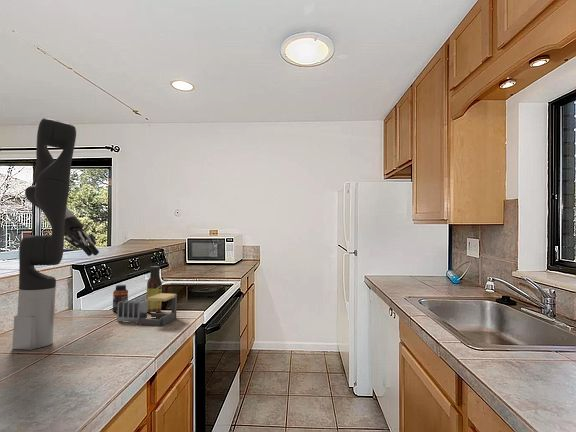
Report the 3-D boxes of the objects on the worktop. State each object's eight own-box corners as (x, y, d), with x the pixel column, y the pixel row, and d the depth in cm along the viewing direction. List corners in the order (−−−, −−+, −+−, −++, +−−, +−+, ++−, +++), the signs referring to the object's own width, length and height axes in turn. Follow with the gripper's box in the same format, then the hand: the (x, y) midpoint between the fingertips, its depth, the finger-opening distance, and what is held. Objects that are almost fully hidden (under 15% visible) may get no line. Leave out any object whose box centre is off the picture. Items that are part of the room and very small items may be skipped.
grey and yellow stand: (163, 325, 130) (164, 298, 130) (137, 324, 131) (138, 297, 131) (176, 318, 141) (177, 293, 141) (152, 317, 142) (153, 292, 142)
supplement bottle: (130, 309, 155) (131, 284, 156) (122, 312, 149) (123, 286, 150) (117, 309, 156) (118, 283, 156) (109, 312, 150) (110, 285, 150)
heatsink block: (138, 323, 133) (139, 303, 134) (116, 322, 134) (117, 302, 135) (146, 319, 139) (147, 300, 140) (125, 318, 140) (126, 299, 141)
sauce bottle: (161, 313, 150) (163, 266, 151) (145, 314, 147) (147, 267, 148) (160, 310, 156) (162, 265, 157) (145, 310, 153) (147, 265, 154)
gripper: (59, 214, 130) (88, 248, 128) (85, 216, 144) (112, 246, 142) (46, 228, 130) (74, 262, 128) (73, 229, 144) (99, 259, 142)
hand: (94, 254), depth 135 cm, fingers open, 3 cm apart
